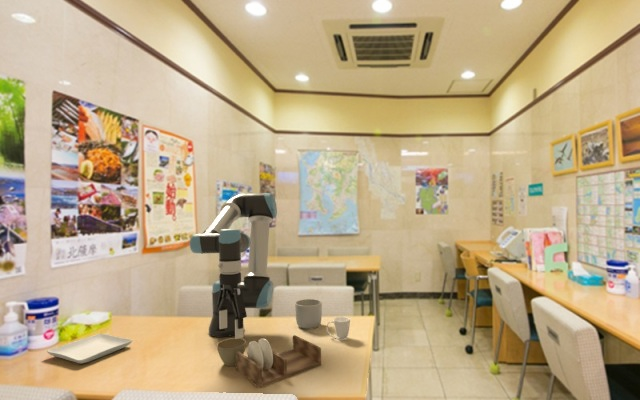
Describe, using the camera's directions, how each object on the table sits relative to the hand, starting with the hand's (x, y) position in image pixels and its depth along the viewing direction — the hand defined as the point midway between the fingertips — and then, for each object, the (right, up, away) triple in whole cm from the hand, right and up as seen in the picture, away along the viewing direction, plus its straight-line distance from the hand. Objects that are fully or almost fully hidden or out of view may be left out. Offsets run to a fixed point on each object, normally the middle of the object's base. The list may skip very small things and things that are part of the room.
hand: (231, 332), depth 125 cm
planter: (+26, -11, +38) cm, 48 cm away
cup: (+39, -11, +22) cm, 46 cm away
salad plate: (-58, -13, +13) cm, 61 cm away
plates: (+12, -9, -9) cm, 17 cm away
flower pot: (0, -11, 0) cm, 11 cm away
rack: (+18, -10, -4) cm, 21 cm away
